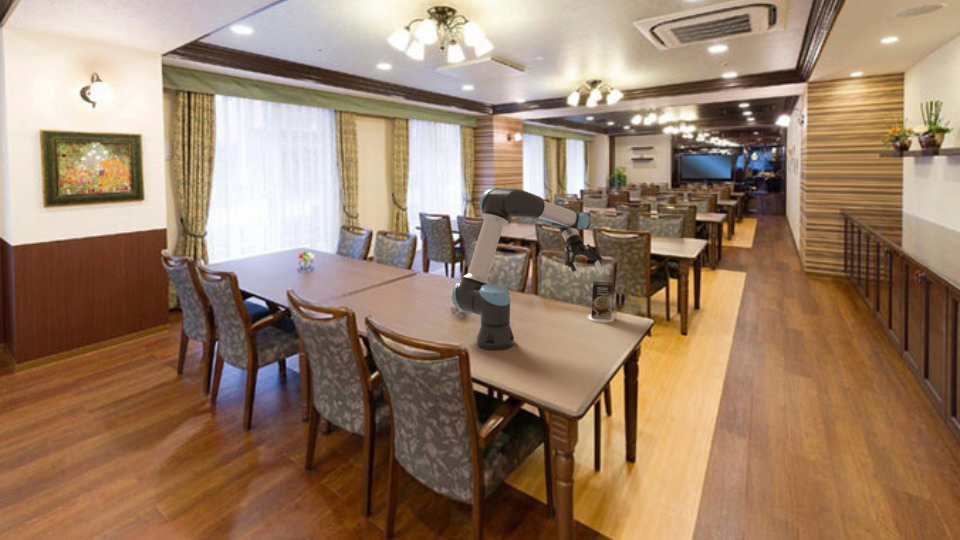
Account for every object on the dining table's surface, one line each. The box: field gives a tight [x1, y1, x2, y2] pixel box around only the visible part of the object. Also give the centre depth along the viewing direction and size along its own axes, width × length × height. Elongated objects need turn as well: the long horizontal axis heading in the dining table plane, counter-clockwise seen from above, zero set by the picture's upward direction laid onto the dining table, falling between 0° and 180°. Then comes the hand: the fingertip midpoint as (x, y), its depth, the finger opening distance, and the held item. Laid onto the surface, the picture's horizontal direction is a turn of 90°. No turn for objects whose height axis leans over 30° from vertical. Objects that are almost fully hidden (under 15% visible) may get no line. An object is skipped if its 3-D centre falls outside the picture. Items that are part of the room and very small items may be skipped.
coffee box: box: [590, 281, 614, 320], centre depth 224 cm, size 9×6×16 cm
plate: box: [587, 313, 615, 324], centre depth 225 cm, size 12×12×1 cm
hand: (590, 274), depth 229 cm, fingers open, 13 cm apart
